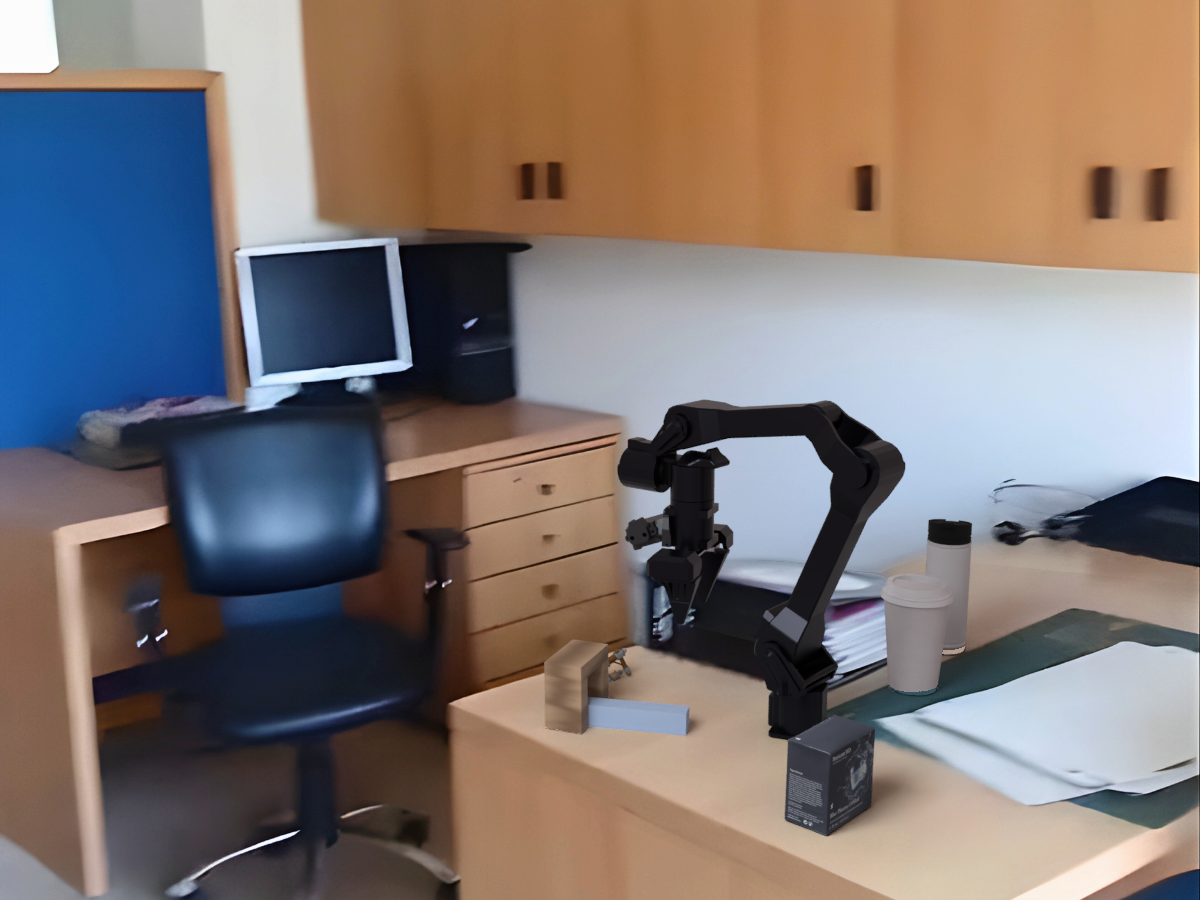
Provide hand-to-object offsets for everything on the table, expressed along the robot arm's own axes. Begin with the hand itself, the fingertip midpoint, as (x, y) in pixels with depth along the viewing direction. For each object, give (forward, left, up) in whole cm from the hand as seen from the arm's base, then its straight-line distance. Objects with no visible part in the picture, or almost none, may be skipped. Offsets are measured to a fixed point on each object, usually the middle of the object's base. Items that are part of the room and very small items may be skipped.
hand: (691, 612), depth 164 cm
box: (-24, +25, -12) cm, 37 cm away
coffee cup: (-27, -15, -12) cm, 33 cm away
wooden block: (+12, +11, -12) cm, 20 cm away
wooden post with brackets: (+13, -2, -12) cm, 18 cm away
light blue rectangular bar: (+5, +11, -12) cm, 18 cm away
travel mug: (-29, -32, -12) cm, 45 cm away
